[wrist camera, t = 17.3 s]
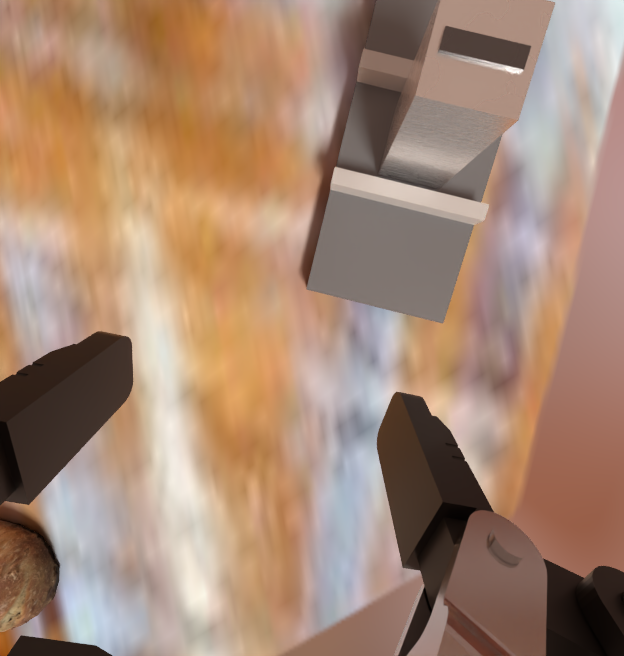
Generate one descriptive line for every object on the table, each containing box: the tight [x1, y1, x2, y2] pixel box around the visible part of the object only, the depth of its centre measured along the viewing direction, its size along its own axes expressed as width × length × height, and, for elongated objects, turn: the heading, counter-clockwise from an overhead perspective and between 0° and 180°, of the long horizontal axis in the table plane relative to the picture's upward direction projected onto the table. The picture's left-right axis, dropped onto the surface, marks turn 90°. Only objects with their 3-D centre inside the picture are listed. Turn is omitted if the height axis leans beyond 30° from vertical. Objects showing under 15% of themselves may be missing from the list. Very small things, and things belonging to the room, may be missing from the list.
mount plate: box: [307, 0, 502, 323], centre depth 24 cm, size 12×26×4 cm, turn 166°
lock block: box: [378, 0, 555, 189], centre depth 19 cm, size 5×5×10 cm
